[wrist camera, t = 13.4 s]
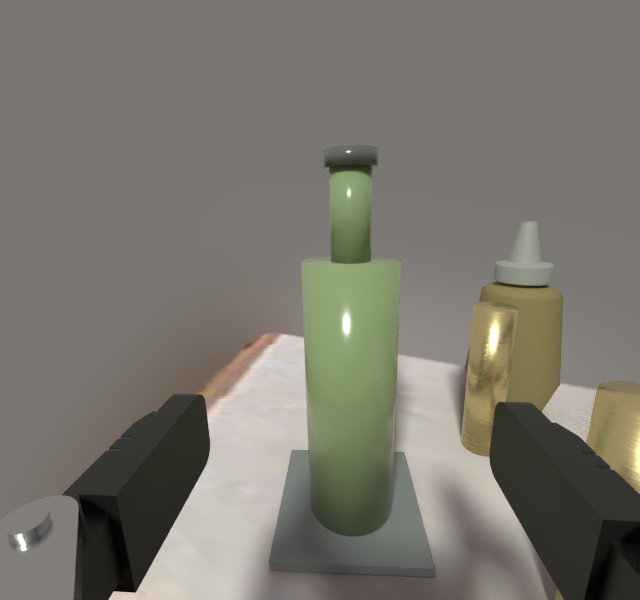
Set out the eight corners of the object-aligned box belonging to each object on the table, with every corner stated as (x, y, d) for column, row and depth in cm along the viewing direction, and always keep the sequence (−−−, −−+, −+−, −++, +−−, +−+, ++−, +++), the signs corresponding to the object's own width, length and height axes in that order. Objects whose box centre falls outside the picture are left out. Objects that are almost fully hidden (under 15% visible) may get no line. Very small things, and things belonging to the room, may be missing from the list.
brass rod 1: (490, 432, 30) (506, 301, 27) (507, 456, 27) (526, 312, 24) (456, 432, 30) (467, 301, 27) (468, 455, 27) (483, 312, 24)
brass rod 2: (601, 595, 17) (654, 381, 14) (654, 673, 14) (736, 425, 11) (539, 592, 17) (579, 381, 14) (580, 668, 14) (640, 424, 11)
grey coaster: (404, 458, 27) (404, 452, 27) (434, 577, 18) (434, 568, 18) (292, 456, 27) (291, 450, 27) (269, 570, 19) (269, 561, 18)
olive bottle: (386, 470, 25) (396, 157, 19) (398, 538, 20) (416, 137, 14) (313, 468, 25) (303, 160, 20) (306, 535, 20) (290, 141, 15)
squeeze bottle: (448, 387, 37) (461, 221, 33) (517, 382, 38) (539, 219, 33) (490, 433, 30) (515, 224, 25) (576, 426, 30) (615, 221, 26)
